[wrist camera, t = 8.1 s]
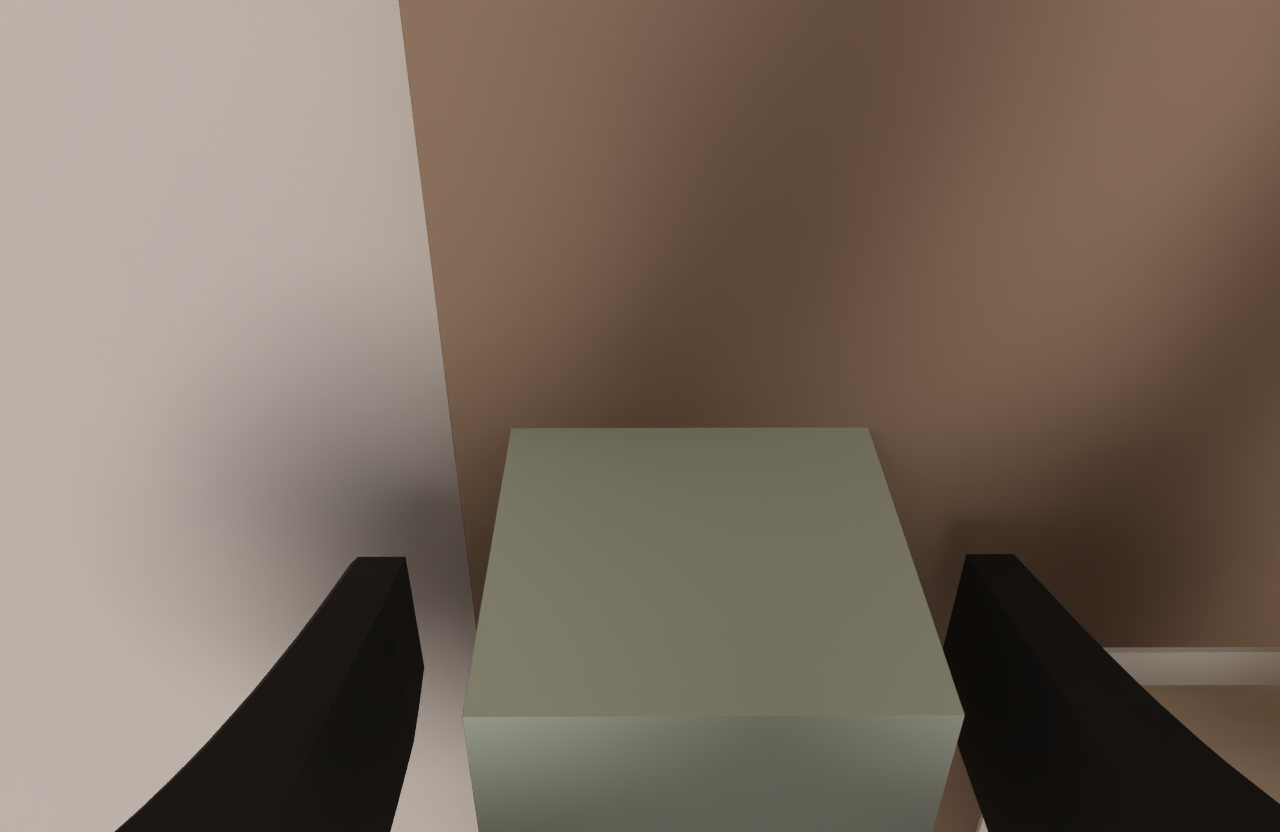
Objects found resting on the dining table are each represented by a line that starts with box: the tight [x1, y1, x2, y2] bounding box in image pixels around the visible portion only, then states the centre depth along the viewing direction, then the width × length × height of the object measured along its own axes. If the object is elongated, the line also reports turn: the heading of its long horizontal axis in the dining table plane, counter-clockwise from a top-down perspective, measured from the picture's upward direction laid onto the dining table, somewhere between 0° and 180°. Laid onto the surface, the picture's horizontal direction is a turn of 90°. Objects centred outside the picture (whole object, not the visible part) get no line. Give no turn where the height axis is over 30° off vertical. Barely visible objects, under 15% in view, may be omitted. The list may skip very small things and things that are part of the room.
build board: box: [399, 0, 1280, 832], centre depth 14 cm, size 19×20×1 cm
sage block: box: [462, 428, 965, 832], centre depth 12 cm, size 4×4×4 cm
